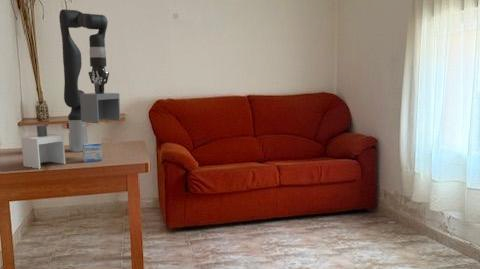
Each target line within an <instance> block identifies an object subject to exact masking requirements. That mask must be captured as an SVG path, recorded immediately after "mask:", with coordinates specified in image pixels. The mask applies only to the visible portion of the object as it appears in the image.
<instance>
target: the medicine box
mask: <svg viewBox="0 0 480 269" xmlns="http://www.w3.org/2000/svg"><path fill="white" fill-rule="evenodd" d="M82 156H83V162H84V163H93V162H102V158H103V156H102V144H101V143H100V142H88V144H83V151H82Z"/></svg>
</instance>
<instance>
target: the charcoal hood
mask: <svg viewBox="0 0 480 269" xmlns="http://www.w3.org/2000/svg"><path fill="white" fill-rule="evenodd" d="M99 85H100V84H99V83H95V85H94V92H90V93H85V94H80V104H81V121H82V122H86V123H91V124H100V121H101V120H108V121H116V122H120V121H121V103H120V93H119V92H104V93H100V89H99Z"/></svg>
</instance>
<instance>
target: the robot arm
mask: <svg viewBox="0 0 480 269" xmlns="http://www.w3.org/2000/svg"><path fill="white" fill-rule="evenodd" d="M58 17H59V18H58V19H59V26H60V28H59V29H60V33H61V35H60V36H61V42H62V45H61V46H62V63H63V74H64V75H63V76H64V77H63V78H64V87H63V100H64V101H63V102H64V104H66V106H67V107H69V108H71V109H70V113H69V114H68V115H67V116H68V117H67V121H68V131H69V132H68V143H69V144H68V145H69V146H68V147H69V151H70V152H71V153H72V152H73V153H80V152H83V144H88V143H89V139H88V128H87V127H88V124H87V123H88V122H82V121H81V104H80V94H86V93H85V92H84V91H83V90H81V89H79V85H78V84H79V83H78V82H79V76H80V74H81V70H82V52H81V50H80V49H79V47H78V46H77V44H76V43H75V41H74V39H73V38H72V35H71V33H70V28H71V29H72V28H73V29H79V28H85V29H88V30H98V31H97V33H94V34H91V35H90V36H89V66H90V67H92V68H91V71H88V76H89V79H90V82H91V84H93V85H94V86H95V83H99V84H100V85H99V89H100V93H105V85H106V84H108V81H109V77H110V72H109V71H106V67H107V55H106V54H107V53H106V52H107V51H106V44H105V41H106V40H105V38H106V32H107V28H108V22H109V21H108V18H107V16H106V15H103V14H98V13H97V14H95V13H93V14H92V13H87V12H86V13H85V12H84V13H83V12H82V11H79V10H76V9H61V10H60V11H59V16H58Z"/></svg>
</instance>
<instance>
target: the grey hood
mask: <svg viewBox="0 0 480 269" xmlns="http://www.w3.org/2000/svg"><path fill="white" fill-rule="evenodd" d="M47 130H48V128H47V125H46V124H45V125H44V124H40V125H36V132H37V133H36V134H34V135H28V136H21V138H20V139H21V140H20V141H21V152H22V163H23V167H27V168H31V167H32V169H37V168H38V169H37V170H41V169H40V168H41V164H44V163H49V162H50V163H55V164H62V165H66V156H65V155H66V154H65V153H66V151H65V141H64V140H65V139H64V134H63V135H62V134H54V133H48V131H47ZM43 162H44V163H43Z"/></svg>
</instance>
